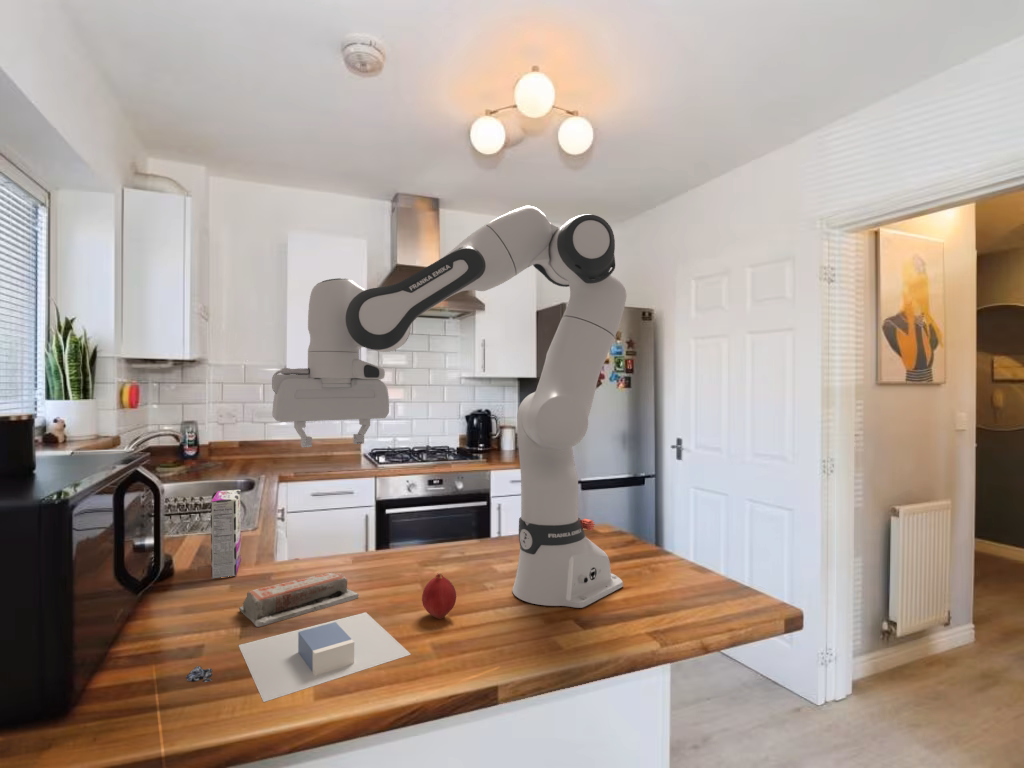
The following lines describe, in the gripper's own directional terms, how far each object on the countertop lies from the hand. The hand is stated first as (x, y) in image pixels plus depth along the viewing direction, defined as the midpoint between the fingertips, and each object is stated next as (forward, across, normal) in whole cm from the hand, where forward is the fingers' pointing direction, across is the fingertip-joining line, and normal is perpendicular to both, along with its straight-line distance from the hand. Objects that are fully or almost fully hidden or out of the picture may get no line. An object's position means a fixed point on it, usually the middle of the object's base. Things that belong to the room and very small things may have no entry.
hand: (333, 445), depth 96 cm
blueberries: (+30, -22, -13) cm, 39 cm away
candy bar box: (+29, -13, +33) cm, 46 cm away
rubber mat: (+29, -6, -16) cm, 34 cm away
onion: (+29, +13, -16) cm, 36 cm away
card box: (+27, -7, -14) cm, 32 cm away
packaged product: (+30, -5, +4) cm, 30 cm away
